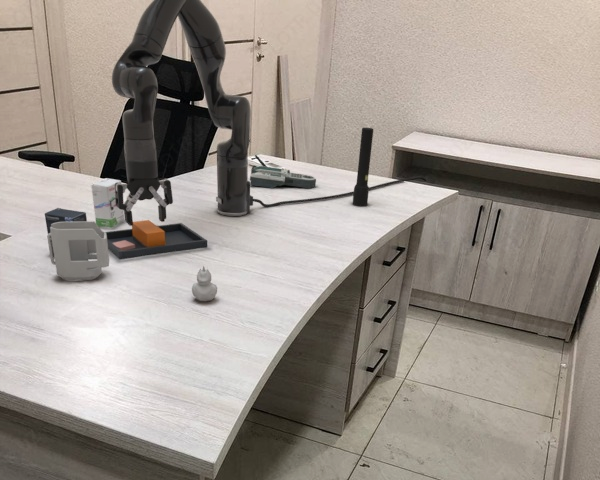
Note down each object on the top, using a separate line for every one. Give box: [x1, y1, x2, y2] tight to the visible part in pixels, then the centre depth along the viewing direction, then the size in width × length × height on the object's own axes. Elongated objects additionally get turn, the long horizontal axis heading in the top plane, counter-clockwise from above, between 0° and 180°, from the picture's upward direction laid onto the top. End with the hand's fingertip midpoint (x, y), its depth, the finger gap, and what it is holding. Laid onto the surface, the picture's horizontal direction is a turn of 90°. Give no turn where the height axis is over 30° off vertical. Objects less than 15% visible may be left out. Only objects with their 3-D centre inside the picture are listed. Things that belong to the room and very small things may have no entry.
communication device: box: [249, 154, 317, 189], centre depth 226 cm, size 12×24×9 cm, turn 89°
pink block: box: [113, 240, 135, 251], centre depth 160 cm, size 4×4×1 cm
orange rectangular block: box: [131, 219, 165, 248], centre depth 162 cm, size 5×11×5 cm, turn 33°
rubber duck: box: [191, 265, 218, 302], centre depth 135 cm, size 5×7×8 cm
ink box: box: [90, 177, 126, 228], centre depth 175 cm, size 8×5×12 cm, turn 167°
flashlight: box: [352, 127, 374, 207], centre depth 205 cm, size 5×24×5 cm
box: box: [44, 207, 88, 257], centre depth 152 cm, size 8×6×11 cm
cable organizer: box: [46, 220, 110, 281], centre depth 140 cm, size 7×12×12 cm, turn 103°
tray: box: [98, 222, 208, 260], centre depth 164 cm, size 24×17×2 cm
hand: (146, 222), depth 161 cm, fingers open, 8 cm apart
